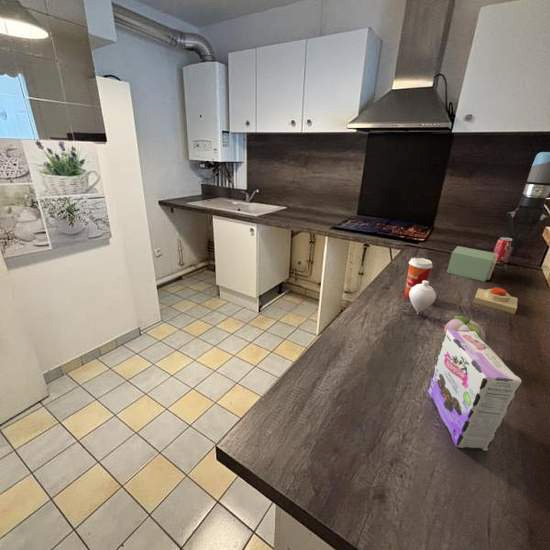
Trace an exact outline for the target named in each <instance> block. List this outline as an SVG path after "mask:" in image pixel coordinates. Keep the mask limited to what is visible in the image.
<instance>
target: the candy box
mask: <svg viewBox="0 0 550 550" xmlns="http://www.w3.org/2000/svg"><path fill="white" fill-rule="evenodd" d="M521 384H522V379H521V378H520V377H519V376H517V375H516V374H515V373H514V371H512V370H511V369H510V367H508V365H507V364H506V363H505V362H504V361H503V360H502V359H501V358H500V357H499V356H498V355H497V354H496V352H494V350H493V349H492V348H491V347H490V346H489V345H488V344H487V343H486V342H485V341H483V340H482V339H481V338H480V337H479V336H478V334H477V333H476V332H475V331H462V330H446V333H445V332H444V337H443V340H442V344H441V346H440V349H439V353H438V357H437V359H436V363H435V366H434V368H433V371H432V375H431V378H430V382H429V384H428V388H427V393H428V395H429V397H430V399H431V401H432V403H433V406H434V407H435V409H436V410H437V413H438V415H439V416H440V418H441V420H442V422H443V424H444V426H445V428H446V430H447V432H448V434H449V436H450V437H451V440H452V442H453V443H454V445H455V448H461V449H466V450H467V449H468V450H475V451H481V452H482V451H483V452H488V451H489V448H490V446H491V444H492V442H493V441H494V438H495V435H496V434H497V432H498V430H499V428H500V426H501V424H502V422H503V420H504V418H505V416H506V414H507V412H508V410H509V408H510V406H511V404H512V402H513V400H514V398H515V396H516V394H517V391H518V390H519V388H520V386H521Z"/></svg>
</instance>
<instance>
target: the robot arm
mask: <svg viewBox="0 0 550 550" xmlns="http://www.w3.org/2000/svg"><path fill="white" fill-rule="evenodd" d="M549 195H550V151H541V152H539V153H537V154H536V155H535V158H534V161H533V163H532V164H531V168H530V171H529V173H528V177H527V179H526V182H525V185H524V188H523V191H522V196H521V197H520V200H519V202H518V205H517V207H516V208H515V209H514V210H513V211H509V212H507V213H506V215H507V219H508V223H507V224H508V227H507V238H512V242H511V245H510V247H513V250H512V253H511V256H510V257H516V256H517V253H518V250H522V249H523V246H524V244H525V242H527V241H532V240H533V239H534V237H535V235H536V234H537V233H538V231H539V230H540V229H541V227H542V226H543V225H544V224H545V223H546V222H548V221H549V219H550V218H549V216H547V215H546V214H544V208H545V205H546V203H547V200H548V197H549ZM515 216H516V217H517V219H518V222H517V226H516V228H515V231H514V234H513V227H514V226H513V223H514V222H513V221H514V217H515ZM537 219H539V221H538V222H537V224H536V225H535V226H534V228H533V229H532V231H531V232H530V234H529V231H530V228H531V225H532V223H533V222H534V221H536V220H537ZM524 222H526V225H525V227H524V230H523V232H522V234H521V235H522V236H521V238H520V239H518V237H519V234H520V232H521V228H522V226H523V223H524ZM528 234H529V235H528Z"/></svg>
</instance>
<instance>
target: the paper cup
mask: <svg viewBox="0 0 550 550" xmlns="http://www.w3.org/2000/svg"><path fill="white" fill-rule="evenodd" d="M433 267H434V266H433V262H432V261H431V260H430V259H427V258H423V257H411V258H410V260H409V261H408V270H407V276H406V282H405V290H404V296H405V297H406V298H407V299H410V297H409V292H410V290H411V288H412V287H414V286H415V285H417V284H422V281H424V280H425V281H428V278H429V275H430V272H431V270H432V268H433Z"/></svg>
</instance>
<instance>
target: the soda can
mask: <svg viewBox="0 0 550 550" xmlns="http://www.w3.org/2000/svg"><path fill="white" fill-rule="evenodd" d="M511 242H512V238H509V237H505V236H501V237H499V239H498V240H497V242H496V244H495V247H494V250H493V252H492V253H495V255H494V256H498V257H497V260H496V263H497V264H502V265H503V264H504V263H505V264H508V263H509V261H510V259H511V257H512V256H511V253H512V250H513V247H510V245H511Z"/></svg>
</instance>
